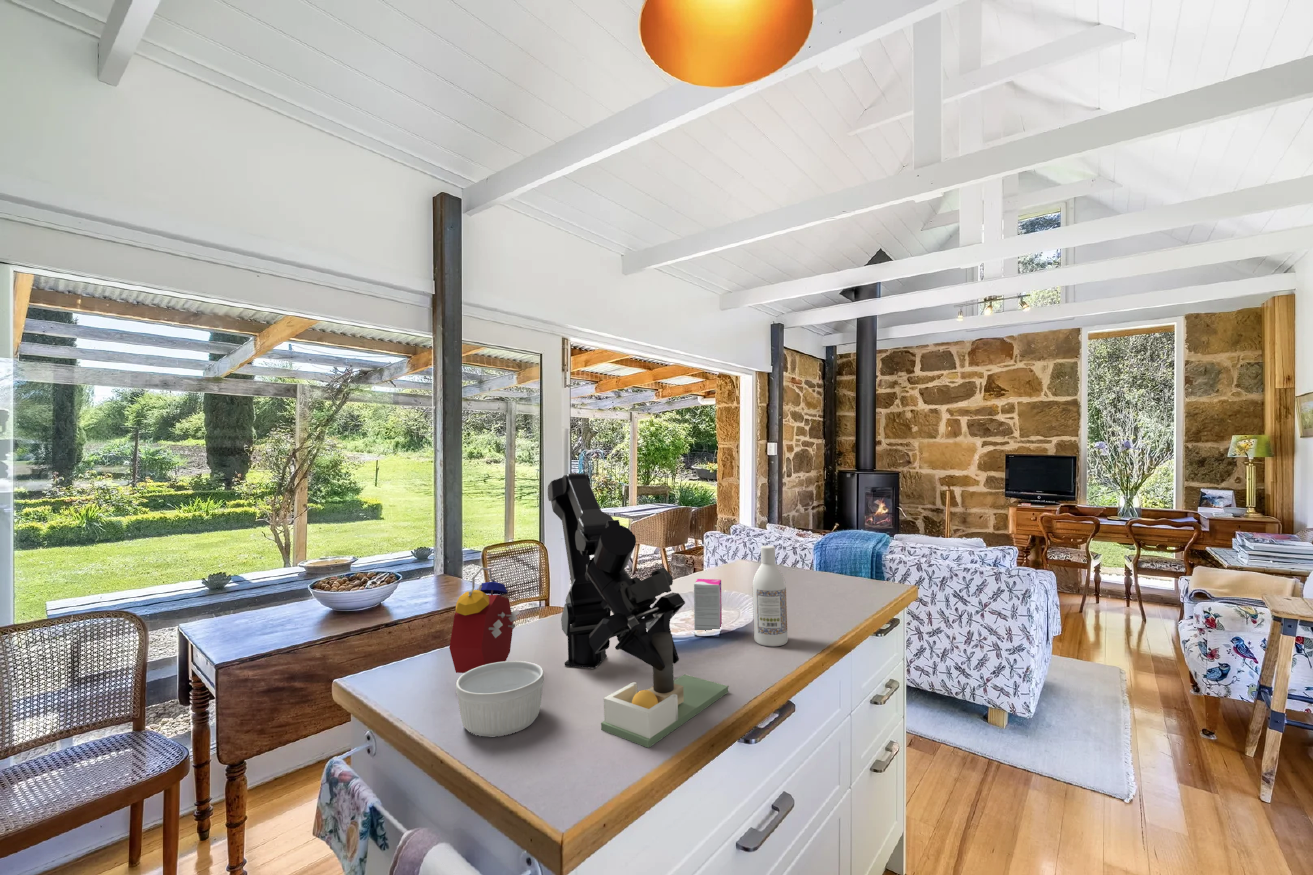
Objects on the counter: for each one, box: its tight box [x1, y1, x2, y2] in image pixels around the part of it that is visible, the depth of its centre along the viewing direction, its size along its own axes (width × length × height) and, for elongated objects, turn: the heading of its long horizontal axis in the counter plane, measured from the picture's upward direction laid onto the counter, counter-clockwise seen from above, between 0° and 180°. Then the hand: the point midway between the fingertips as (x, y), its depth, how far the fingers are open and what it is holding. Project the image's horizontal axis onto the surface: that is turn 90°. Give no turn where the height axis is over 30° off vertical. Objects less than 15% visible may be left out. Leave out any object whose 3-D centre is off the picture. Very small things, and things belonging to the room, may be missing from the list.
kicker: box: [646, 632, 684, 705], centre depth 88 cm, size 4×5×11 cm
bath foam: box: [751, 545, 789, 647], centre depth 118 cm, size 7×7×20 cm
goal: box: [603, 681, 678, 739], centre depth 83 cm, size 9×7×4 cm
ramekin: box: [455, 660, 545, 737], centre depth 87 cm, size 13×13×7 cm
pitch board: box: [600, 673, 729, 749], centre depth 88 cm, size 9×22×1 cm, turn 142°
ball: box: [632, 689, 658, 709], centre depth 84 cm, size 4×4×4 cm
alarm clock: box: [449, 567, 521, 674], centre depth 105 cm, size 15×9×20 cm, turn 173°
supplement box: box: [693, 578, 723, 631], centre depth 125 cm, size 6×6×12 cm
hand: (670, 665), depth 87 cm, fingers closed on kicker, 3 cm apart
